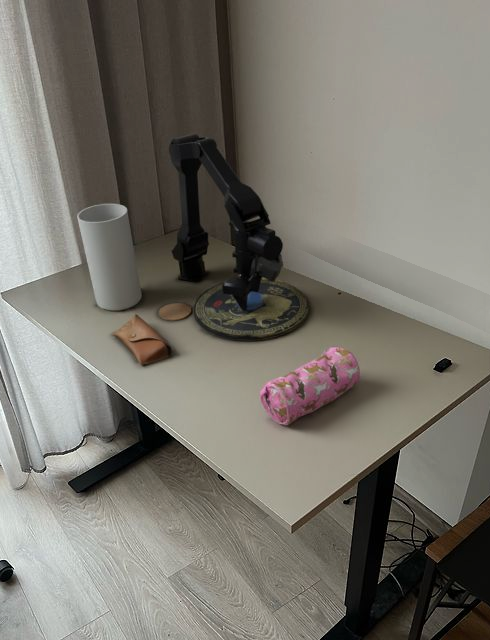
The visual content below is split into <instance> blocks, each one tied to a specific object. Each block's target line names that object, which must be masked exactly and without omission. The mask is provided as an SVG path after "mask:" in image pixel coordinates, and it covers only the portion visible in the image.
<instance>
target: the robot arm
mask: <svg viewBox="0 0 490 640" xmlns="http://www.w3.org/2000/svg"><path fill="white" fill-rule="evenodd" d="M168 153H169V156H170V162H171V164H172V165H173V166H174V168H175V169H176V171H177V173H178V185H179V186H178V187H179V199H180V213H181V226H180V227H179V229H178V231H177V233H176V244H175V245H174V247H173V249H171V253H172V258H173V259H174V260H175V261H177V262H178V267H179V276H177V280H180V281H187V282H193V283H199V281H201V279H202V278H204V277H205V275H206V274H207V272H208V271H207V270H206V265H205V264H206V263H205V260H204V258H203V257H204V256H206V255H207V254H208V248H209V246H210V242H209V233H208V231H206V230H205V228H204V227H203V226H202V224H201V210H200V192H199V191H200V189H199V170H200V168H201V166H203V167H204V169H205V170H206V172H207V174H208V175H209V176H210V177H211V178H210V179H212V181H213V182H214V184H215V185H216V187H217V188H218V190H219V191H220V193H221V195H222V196H223V198H224V199H223V203H224V204H223V207H224V209H225V210H226V212H227V215H228V217H229V218H230V221H229V222H228V226H230V227H232V228H233V235H234V236H233V237H234V251H233V252H232V253H231V255H232V258H235V267H233V269H232V272H233V273H234V274H238V276H231V275H230V276H229V277H228V278H227V279H226V280H225V281H224V282H225V283H224V284H223V285H222V292H223V293H224V294H229V295H232V296H233V297H234V299H235V300H236V302H237V303H238V305H239V306H240V308H241V309H242V310H243V311H246V309H247V301H248V294H249V293H250V292H259V288H260V284H261V280H262V278H265V279H268V281H271V282H273V281H275V280H277V278H278V277H279V276H280V273H281V271H282V269H283V268H284V262H283V256H282V251H283V248H284V243H283V241H282V238H281V237H280V236H278V235H276V230H274V229H272V228H268V227H267V226H269V225H271V224H272V223H271V220H270V218H269V217H270V215H269V213H268V211H267V210H266V208H265V206H264V203H263V201H262V199H261V198H260V196H259V194H258V193H256V191H255V190H254V189H253V188H252V187H251V186H249V185H247V184H245V183H243V182H241V180H240V179H239V177H238V176H237V175H236V173H235V172H234V170H233V169H232V167H231V166H230V165H229V163H228V161H227V160H226V159H225V157H224V155H223V154H222V152H221V151H220V150H219V148H218V145H217V142H216V140H215V138H211V137H208V136H199V135H198V134H197V133H191V134H187V135H182V136H179V137H175V138H171V141H169V144H168ZM258 217H259V218H258ZM255 218H257V219H255ZM252 219H253V220H252ZM250 220H251V221H250Z"/></svg>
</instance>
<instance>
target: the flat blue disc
mask: <svg viewBox="0 0 490 640" xmlns="http://www.w3.org/2000/svg"><path fill="white" fill-rule="evenodd" d="M236 305H237V306H238V307H239V308H240V306H239V305H238V303H237V302H236ZM262 305H263V296H262V294H260V293H258V292H250V293H249V294H248V301H247V309H246V311H253V310H256V309H258V308H259V307H261V306H262Z"/></svg>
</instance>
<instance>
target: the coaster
mask: <svg viewBox="0 0 490 640" xmlns="http://www.w3.org/2000/svg"><path fill="white" fill-rule="evenodd" d="M191 313H192V308H191V306H190V305H188V304H186V303H182V302H172V303H169V304H166V305H164V306H162V307H161V308H159V310H158V316H159V318H160V319H162V320H164V321H167V322H174V321H175V322H176V321H180V320H181V321H182V320H184V319H186V318H187V317H189V316H190V315H191Z"/></svg>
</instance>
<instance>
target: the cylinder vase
mask: <svg viewBox="0 0 490 640" xmlns="http://www.w3.org/2000/svg"><path fill="white" fill-rule="evenodd" d="M76 217H77V221H78V226H79V231H80V235H81V239H82V245H83V250H84V253H85V258H86V261H87V266H88V267H87V268H88V271H89V275H90V280H91V284H92V289H93V293H94V298H95V303H96V304H97V306H98V307H99V308H101V309H103V310H106V311H111V312H112V311H114V312H116V311H124V310H127V309H130V308H133V307H134V306H136V305H137V304H139V302H140V301H141V300H142V297H143V296H142V294H143V293H142V287H141V284H140V283H141V282H140V276H139V271H138V265H137V258H136V254H135V253H136V252H135V248H134V241H133V236H132V229H131V225H130V224H131V223H130V219H129V212H128V208H127V207H126V206H125V205H122V204H118V203H101V204H96V205H91V206H89V207H86V208H84V209H82V210H81V211H79V212H78V213H77V216H76Z"/></svg>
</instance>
